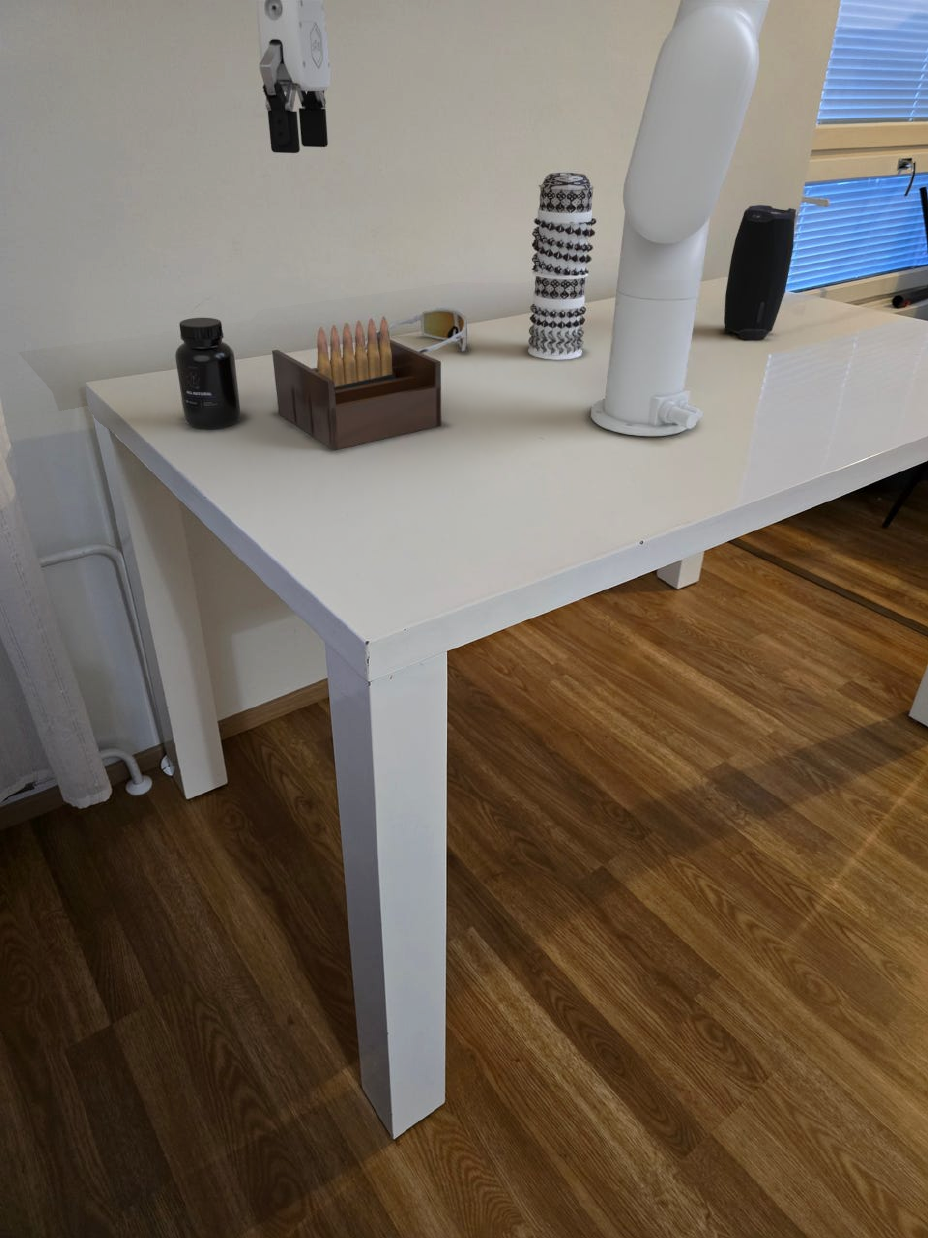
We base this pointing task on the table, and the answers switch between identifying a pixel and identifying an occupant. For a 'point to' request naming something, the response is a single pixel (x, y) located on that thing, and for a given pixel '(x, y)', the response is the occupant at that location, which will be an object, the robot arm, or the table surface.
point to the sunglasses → (439, 327)
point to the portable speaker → (758, 271)
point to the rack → (361, 400)
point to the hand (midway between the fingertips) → (300, 149)
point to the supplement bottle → (207, 375)
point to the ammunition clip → (356, 356)
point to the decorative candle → (561, 266)
